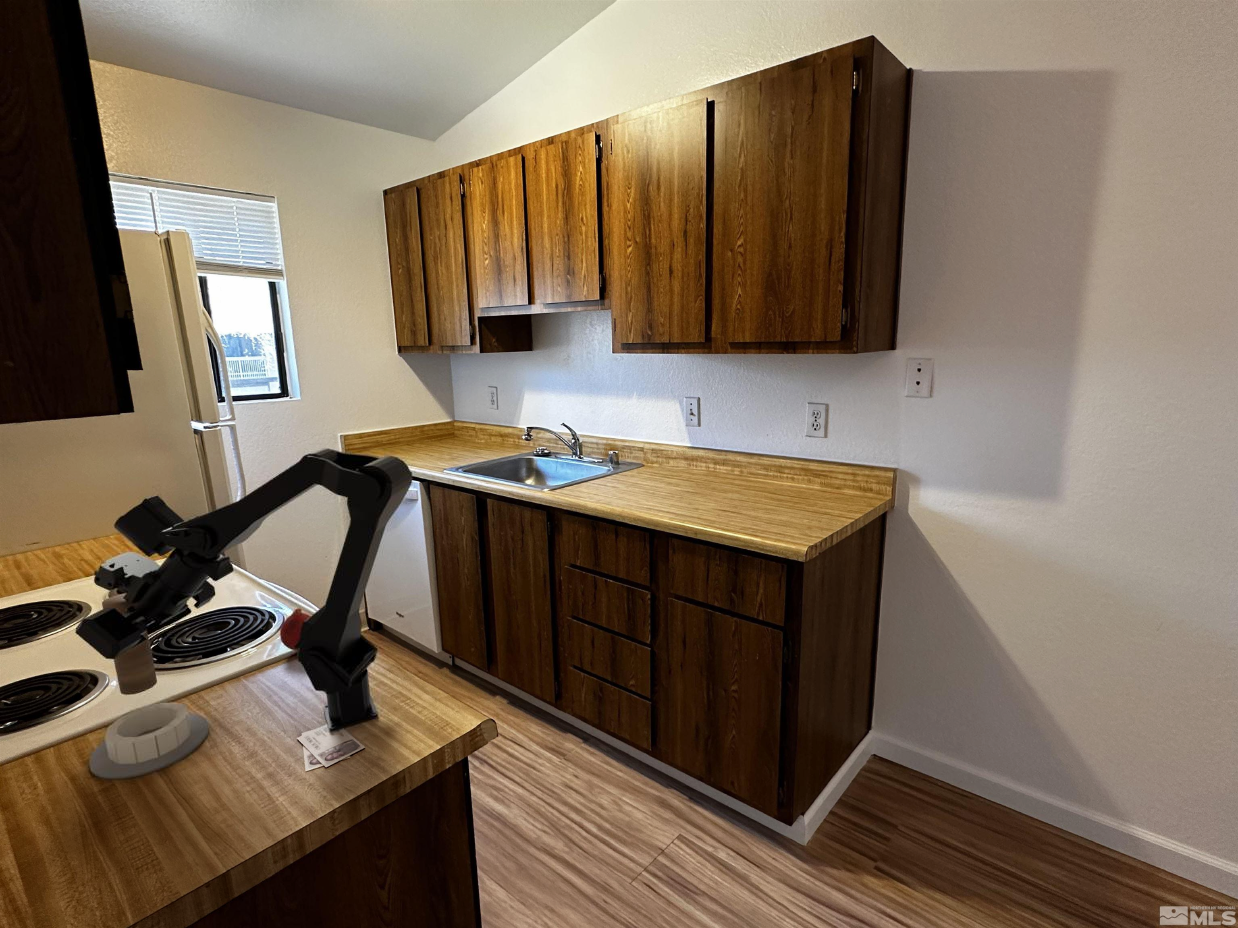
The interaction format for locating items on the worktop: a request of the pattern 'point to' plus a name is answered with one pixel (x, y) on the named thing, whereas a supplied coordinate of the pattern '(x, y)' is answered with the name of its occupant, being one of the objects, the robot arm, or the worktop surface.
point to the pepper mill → (133, 657)
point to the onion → (292, 628)
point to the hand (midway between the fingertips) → (122, 645)
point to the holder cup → (148, 741)
